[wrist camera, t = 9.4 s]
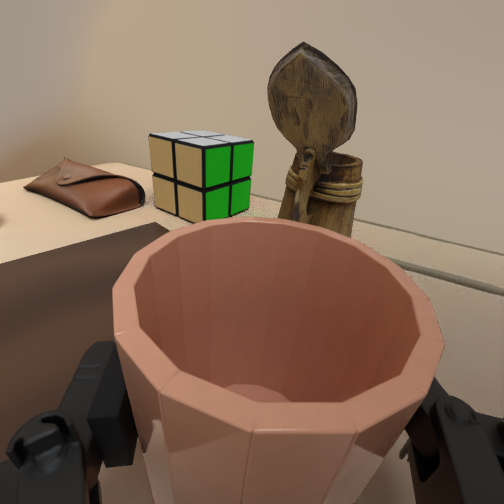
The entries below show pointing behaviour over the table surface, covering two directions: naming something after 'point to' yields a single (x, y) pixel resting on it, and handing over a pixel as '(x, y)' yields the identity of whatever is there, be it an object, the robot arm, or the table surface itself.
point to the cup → (269, 361)
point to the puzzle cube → (201, 174)
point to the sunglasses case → (89, 189)
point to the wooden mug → (316, 138)
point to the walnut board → (56, 319)
